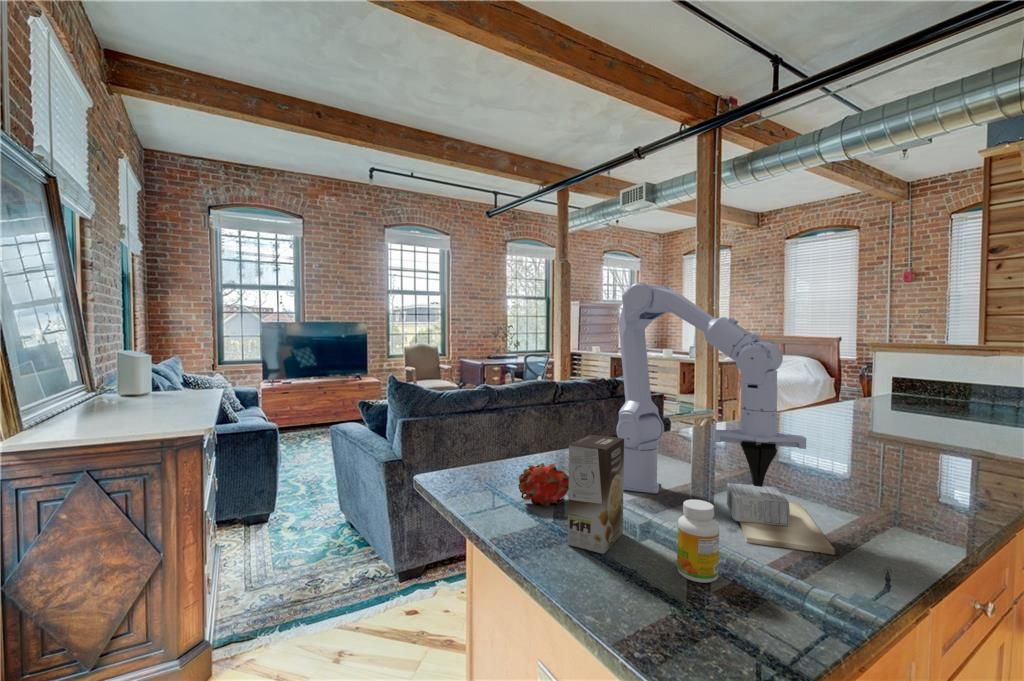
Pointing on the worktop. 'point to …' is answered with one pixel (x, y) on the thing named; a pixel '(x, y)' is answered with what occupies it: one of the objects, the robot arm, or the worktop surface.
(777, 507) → the medicine box
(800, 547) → the board
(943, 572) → the worktop surface
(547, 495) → the dragon fruit
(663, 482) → the worktop surface
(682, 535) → the supplement bottle
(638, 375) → the robot arm
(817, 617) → the worktop surface
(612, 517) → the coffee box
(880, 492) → the worktop surface
